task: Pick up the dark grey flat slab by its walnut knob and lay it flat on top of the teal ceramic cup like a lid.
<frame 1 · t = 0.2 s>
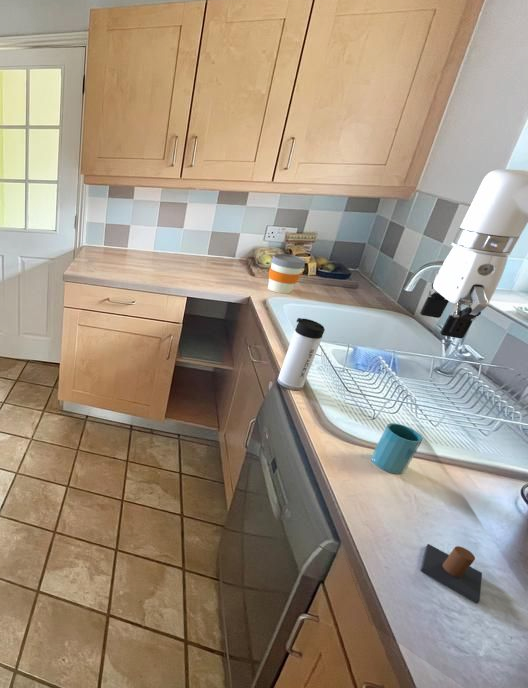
hand: (439, 325, 82), 33 cm above the worktop, tool pointing down, fingers open, 9 cm apart
reusable coffee cup: (279, 290, 187), on the worktop
dark grey flat slab: (449, 573, 69), on the worktop
travel mug: (288, 384, 119), on the worktop
cup: (387, 464, 92), on the worktop
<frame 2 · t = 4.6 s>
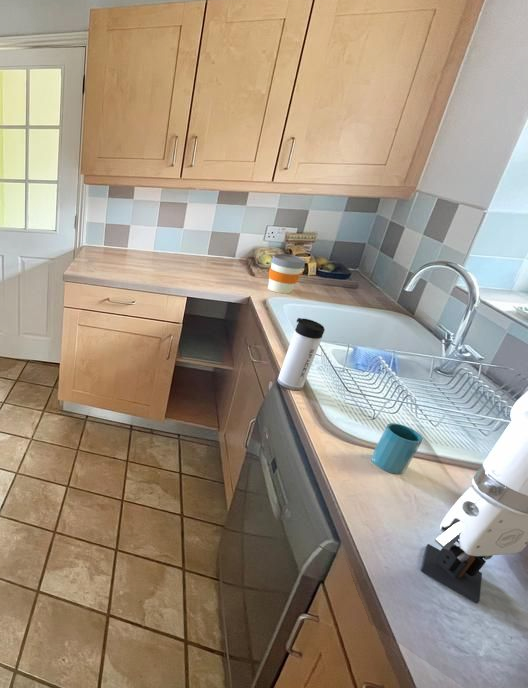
hand: (454, 567, 69), 1 cm above the worktop, tool pointing down, fingers closed on dark grey flat slab, 2 cm apart
dark grey flat slab: (449, 573, 69), on the worktop, touching gripper
everything else where it was.
when the fingers open (10 cm above the worktop, at t = 10.6 s): dark grey flat slab stays where it is, resting on cup.
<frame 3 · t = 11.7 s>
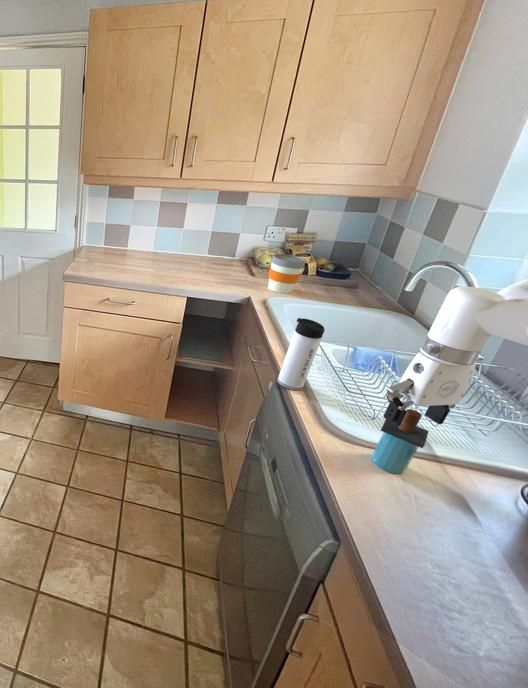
hand: (412, 420, 86), 12 cm above the worktop, tool pointing down, fingers open, 9 cm apart
dark grey flat slab: (403, 432, 88), point 9 cm above the worktop, touching cup
cup: (387, 464, 92), on the worktop, touching dark grey flat slab
everything else where it was.
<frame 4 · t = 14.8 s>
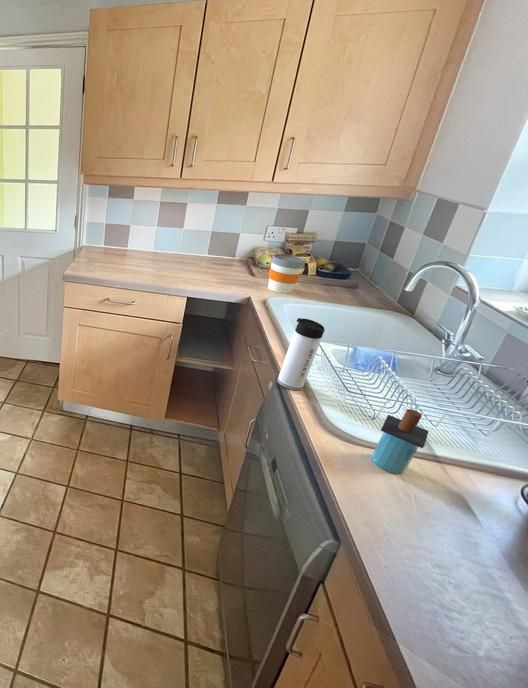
nothing on the worktop moved.
at the end: dark grey flat slab 0.1 cm off-centre on the cup, point 9.0 cm above the cup's base; dark grey flat slab tilted 0°; the gripper is holding nothing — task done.
